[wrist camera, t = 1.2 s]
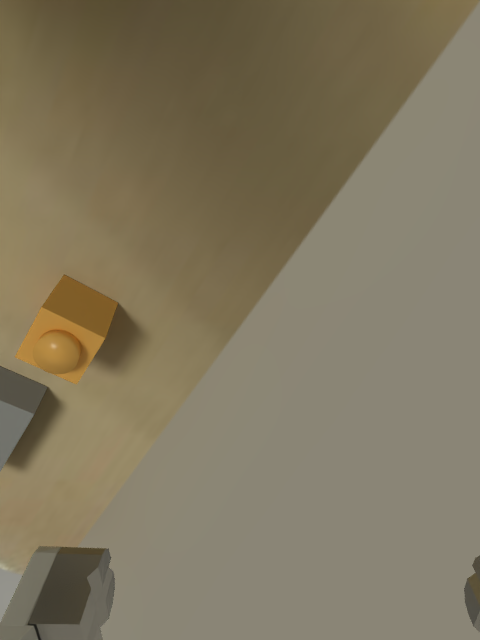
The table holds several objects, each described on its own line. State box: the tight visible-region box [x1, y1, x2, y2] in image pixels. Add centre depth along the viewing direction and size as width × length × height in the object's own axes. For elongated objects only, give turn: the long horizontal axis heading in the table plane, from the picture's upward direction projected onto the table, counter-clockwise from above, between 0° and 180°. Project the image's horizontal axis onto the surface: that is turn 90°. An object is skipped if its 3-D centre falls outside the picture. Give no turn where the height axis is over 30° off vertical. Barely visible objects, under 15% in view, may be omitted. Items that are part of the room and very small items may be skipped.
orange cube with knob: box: [15, 275, 118, 384], centre depth 36 cm, size 5×5×7 cm
